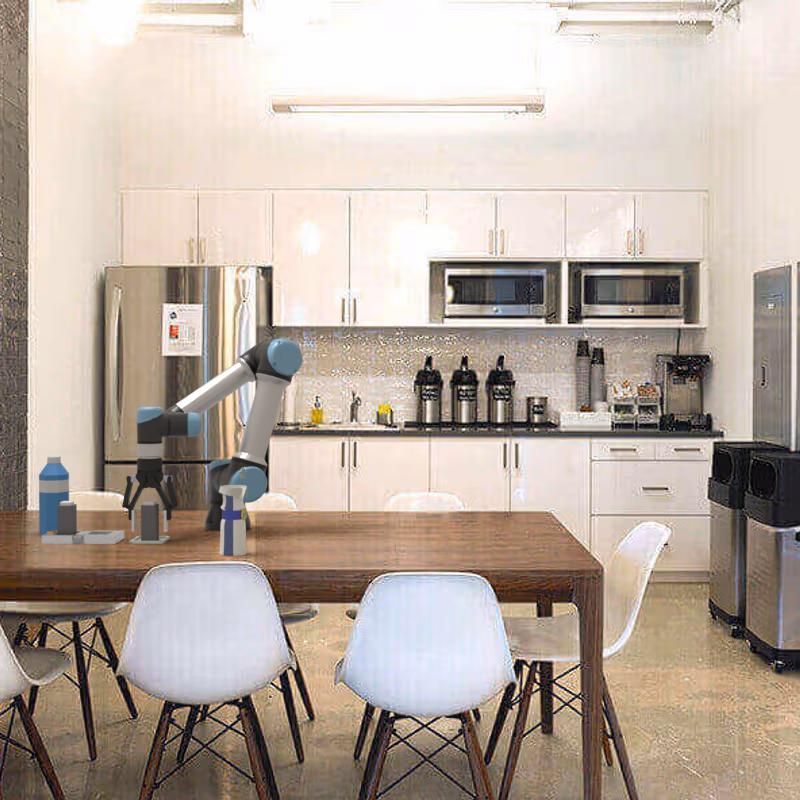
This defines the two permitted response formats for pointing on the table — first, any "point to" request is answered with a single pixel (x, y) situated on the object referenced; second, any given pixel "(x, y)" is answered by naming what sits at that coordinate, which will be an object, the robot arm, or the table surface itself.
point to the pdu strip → (84, 537)
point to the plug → (149, 521)
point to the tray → (138, 541)
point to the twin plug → (67, 518)
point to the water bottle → (52, 493)
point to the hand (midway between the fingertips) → (150, 530)
